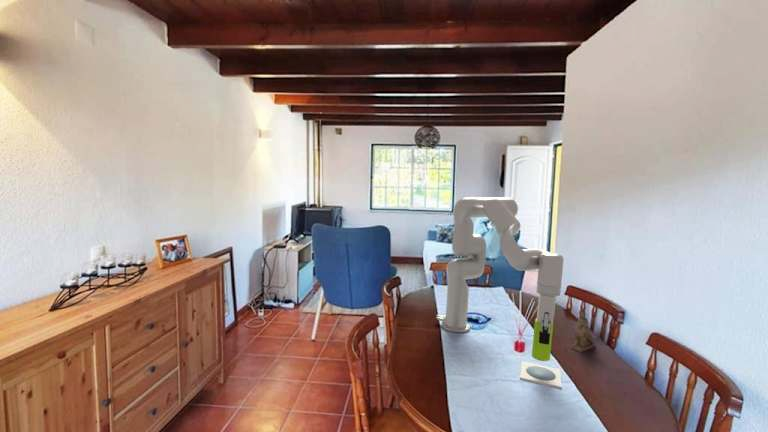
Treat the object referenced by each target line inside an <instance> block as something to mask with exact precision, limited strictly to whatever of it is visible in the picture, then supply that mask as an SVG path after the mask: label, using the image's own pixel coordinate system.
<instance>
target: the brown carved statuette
mask: <svg viewBox="0 0 768 432" xmlns="http://www.w3.org/2000/svg"><path fill="white" fill-rule="evenodd" d="M578 314H579V317H578V320H577V323H576V324H575V325H574V329H573V330H574V337H575V340H574V341H575V342H574V343H573V344H571V345H570V348H571V349H572V350H575V351H578V352H580V353H582V352H584V351H587V350H590V349H593V348H594V347H596V342H595V341H594V339H593V336H592V334H591V331H590V327H589V320H588V319H587V317H586V312H585V311H584V310H579V311H578Z"/></svg>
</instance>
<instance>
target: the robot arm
mask: <svg viewBox="0 0 768 432" xmlns="http://www.w3.org/2000/svg"><path fill="white" fill-rule="evenodd" d="M518 212H519V206H518V204H517V202H516V201H515V200H514V199H513V198H511V197H501V196H500V197H495V196H494V197H478V196H477V197H475V196H469V197H463V198H460V199H459V200H458V201H456V202H455V204H454V207H453V220H454V221H453V222H454V223H453V225H454V226H453V235H452V244H451V249H452V252H453V254H454V255H456V256H458V258H454V259H451V260H449V262H448V263H447V264H446V270H445V271H446V278H447V286H446V287H447V289H446V290H447V291H446V305H445V306H446V307H445V314H444V315H441V314H436V317H435V319H437V321H440V322H441V328H443V329H444V330H446V331H448V332H451V333H467V332H469V331H470V330H471V326H470V324H468V323H467V322H468V309H469V296H470V295H469V294H470V289H469V285H468V283H467V281H466V280H471V279H472V280H473V279H477V278H480V277H481V276H482V275H483V274H484V271H485V264H486V256H487V242H486V241H487V240H486V238H485V237H484V236H483V235H481V234H479V233H474V228H475V225H474V222H473V219H472V218H488V220H489V222H490V223H491V224H492V226H494V229H495V230H496V232H497V233H498V234H499V236H500V237H499V245H500V250H501V253H502V254H503V256H504V258H505V259H506V261H507V262H508V264H510V266H511V267H512V268H514V269H515V270H517V271H520V272H523V271H524V272H525V271H532V270H533V271H535V270H538V271H537V281H536V282H537V283H536V293H537V294H538V301H537V312H536V313H537V314H536V318H537V322H538V323H539V322H540V323H541V331H540V335H539V343H542V344H547V345H549V340H550V325H552V323H553V324H554V317H555V312H556V305H555V303H557V297H560V296H561V293H562V291H561V290H562V289H561V288H562V283H563V282H562V280H563V271H564V270H563V268H564V256H563V255H562V254H560V253H556V252H550V251H547V250H545V249H542V248H537V247H536V248H535V247H533V248H521V247H520V244H518V243H517V242H516V240H515V237H514V236H515V235H516V234H517V233H518V232H519V230H520V229H521V223H520V221H519V219H517V217H516V216H517V215H518ZM466 256H468V257H466ZM544 313H545V317H544ZM543 321H544V323H543ZM548 322H549V324H548ZM543 325H544V326H543Z"/></svg>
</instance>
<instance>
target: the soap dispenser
mask: <svg viewBox="0 0 768 432" xmlns="http://www.w3.org/2000/svg"><path fill="white" fill-rule="evenodd" d="M556 306H557V307H558V306H560V305H559V303H558V302H556V303H555V307H556ZM544 317H545V313H544ZM543 323H544V321H543ZM548 324H549V322H548ZM543 326H544V325H543ZM540 331H541V323H540V322H539V323H538V322H537V317H536V318H534V329H533V338H532V347H531V357H532V358H533V359H535V360H537V361H541V362H549V361H550V360H551V351H552V340H553V334H554V332H553V331H554V322H553V323H552V325H550V340H549V345H547V344H542V343H539V335H540Z"/></svg>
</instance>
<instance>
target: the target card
mask: <svg viewBox="0 0 768 432" xmlns="http://www.w3.org/2000/svg"><path fill="white" fill-rule="evenodd" d="M520 366H521V367H520V375H519V380H522V381H525V382H526V381H527V382H531V383H535V384H540V385H542V386H543V385H544V386H549V387H551V388H552V387H553V388H557V389H561V390H562V389H563V386H562V385H563V384H562V373H561V368H556V367H551V366H546V365H542V364H536V363H534V362H528V361H524V360H522V361H521V365H520Z"/></svg>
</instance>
